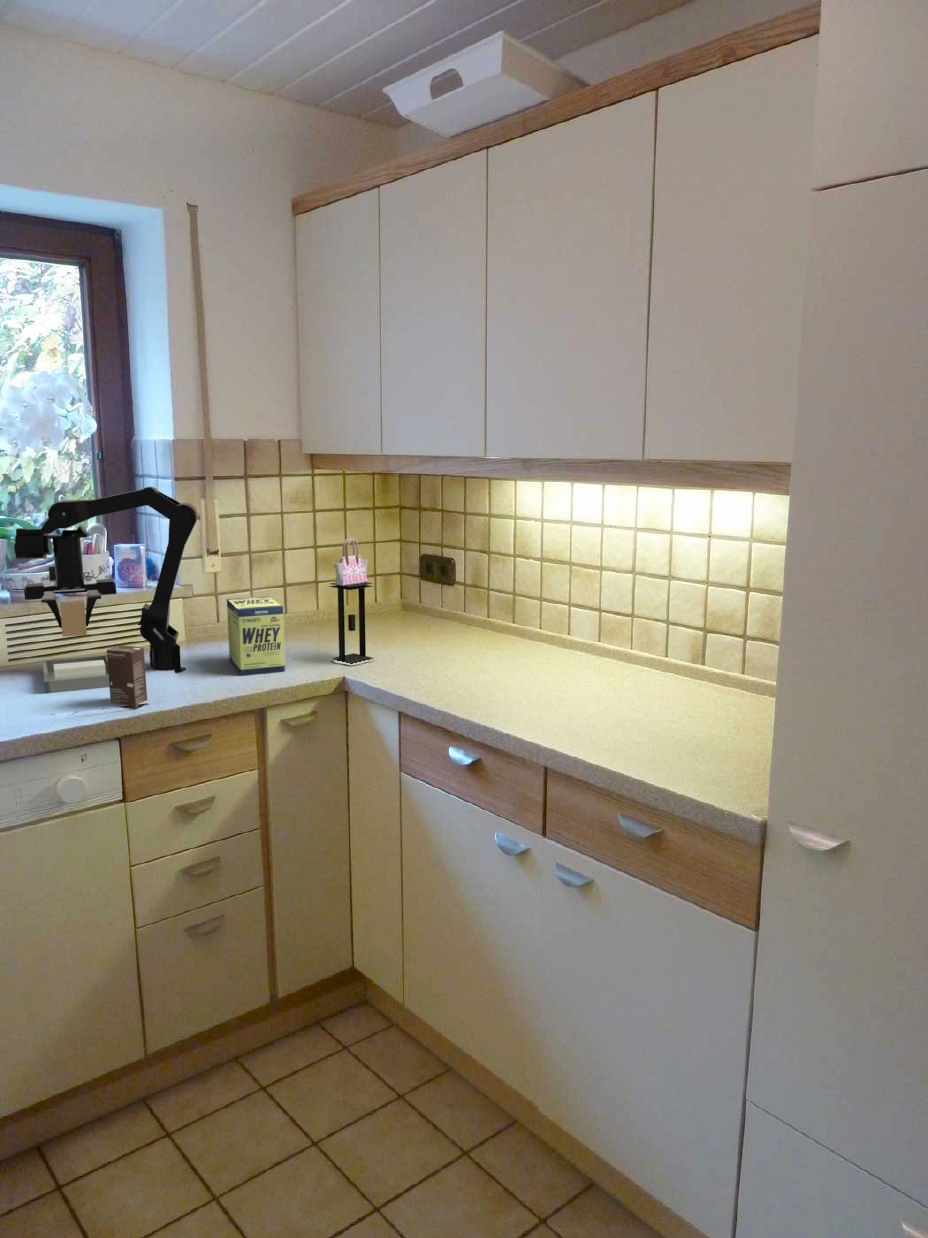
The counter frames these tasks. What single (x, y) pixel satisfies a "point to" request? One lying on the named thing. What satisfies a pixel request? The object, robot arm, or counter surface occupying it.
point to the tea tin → (73, 618)
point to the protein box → (256, 635)
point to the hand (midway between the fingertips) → (74, 626)
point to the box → (127, 676)
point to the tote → (73, 683)
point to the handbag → (351, 578)
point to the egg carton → (79, 669)
